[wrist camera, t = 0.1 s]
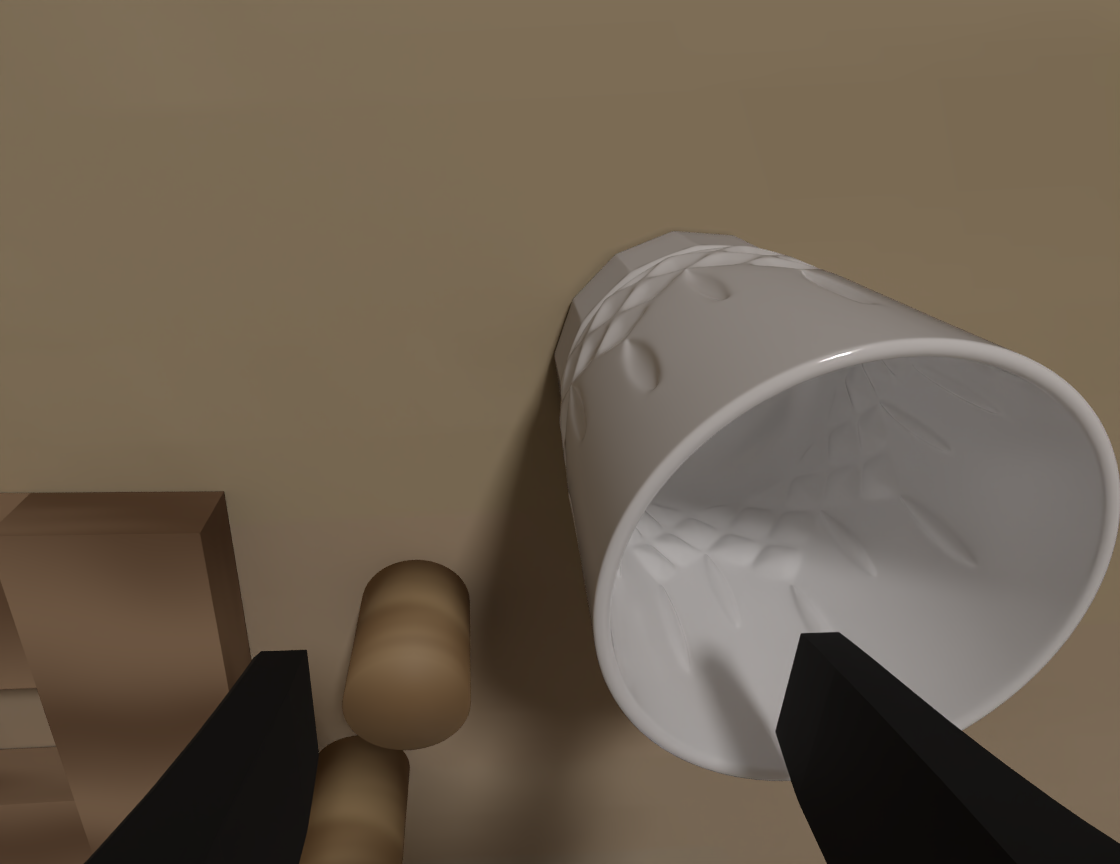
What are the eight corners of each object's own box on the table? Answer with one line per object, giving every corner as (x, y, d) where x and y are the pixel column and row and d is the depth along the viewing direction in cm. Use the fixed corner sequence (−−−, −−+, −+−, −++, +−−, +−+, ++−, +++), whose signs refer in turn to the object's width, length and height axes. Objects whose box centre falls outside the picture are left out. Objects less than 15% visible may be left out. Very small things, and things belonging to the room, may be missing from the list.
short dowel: (469, 642, 23) (470, 746, 19) (365, 646, 23) (346, 753, 19) (469, 558, 22) (471, 654, 18) (358, 561, 21) (337, 659, 18)
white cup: (589, 521, 22) (680, 840, 13) (484, 276, 18) (507, 481, 9) (844, 424, 21) (1122, 684, 12) (788, 153, 18) (1126, 241, 9)
